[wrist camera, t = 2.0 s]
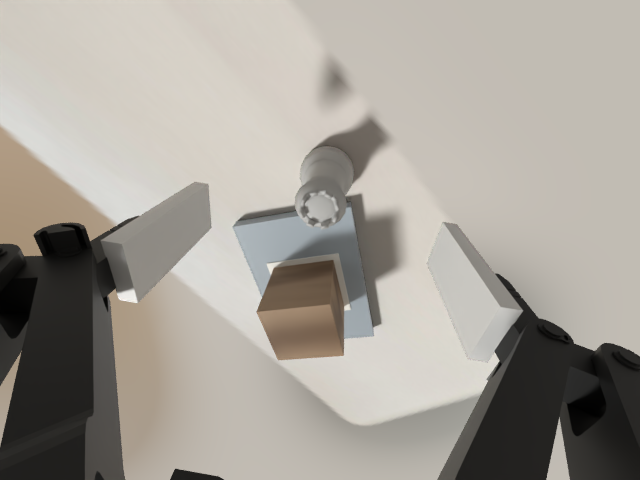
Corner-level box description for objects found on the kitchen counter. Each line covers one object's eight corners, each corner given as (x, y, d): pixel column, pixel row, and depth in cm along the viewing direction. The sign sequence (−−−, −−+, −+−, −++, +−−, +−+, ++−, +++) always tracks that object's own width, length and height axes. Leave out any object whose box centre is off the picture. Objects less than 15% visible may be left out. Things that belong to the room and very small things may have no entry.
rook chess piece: (365, 169, 23) (373, 208, 16) (330, 206, 25) (323, 255, 18) (324, 132, 22) (314, 157, 15) (290, 174, 24) (267, 213, 17)
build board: (236, 221, 26) (232, 227, 25) (350, 201, 24) (351, 207, 23) (283, 335, 34) (281, 344, 33) (373, 327, 32) (373, 336, 31)
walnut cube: (273, 267, 27) (256, 312, 22) (333, 259, 26) (329, 304, 21) (290, 311, 30) (278, 360, 25) (344, 306, 29) (343, 355, 24)
